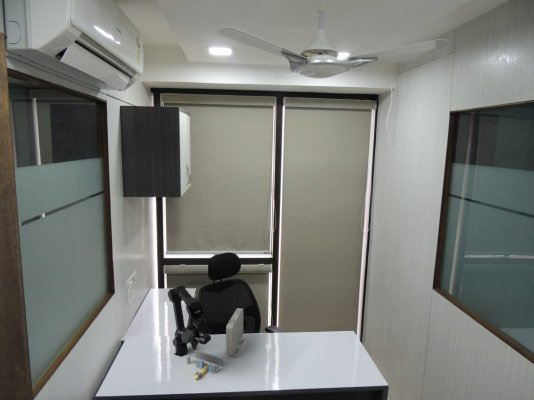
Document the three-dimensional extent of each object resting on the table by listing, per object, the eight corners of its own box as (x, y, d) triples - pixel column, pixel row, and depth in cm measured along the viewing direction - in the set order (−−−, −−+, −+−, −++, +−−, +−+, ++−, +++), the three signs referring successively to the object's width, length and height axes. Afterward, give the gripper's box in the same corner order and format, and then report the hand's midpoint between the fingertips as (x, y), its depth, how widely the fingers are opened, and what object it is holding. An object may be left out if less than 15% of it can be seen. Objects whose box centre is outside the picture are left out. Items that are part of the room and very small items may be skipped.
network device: (236, 360, 198) (236, 327, 196) (221, 358, 200) (221, 326, 197) (246, 337, 223) (246, 308, 221) (233, 336, 225) (233, 306, 222)
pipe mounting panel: (174, 375, 185) (173, 366, 184) (195, 357, 201) (195, 348, 200) (202, 385, 176) (202, 376, 175) (223, 366, 192) (222, 357, 192)
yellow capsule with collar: (197, 381, 179) (197, 377, 178) (193, 379, 180) (192, 375, 180) (209, 369, 188) (209, 365, 188) (205, 368, 190) (205, 364, 189)
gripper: (170, 325, 183) (171, 352, 186) (198, 334, 175) (198, 363, 177) (184, 316, 193) (184, 342, 196) (211, 325, 185) (211, 351, 187)
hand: (194, 349), depth 189 cm, fingers closed
